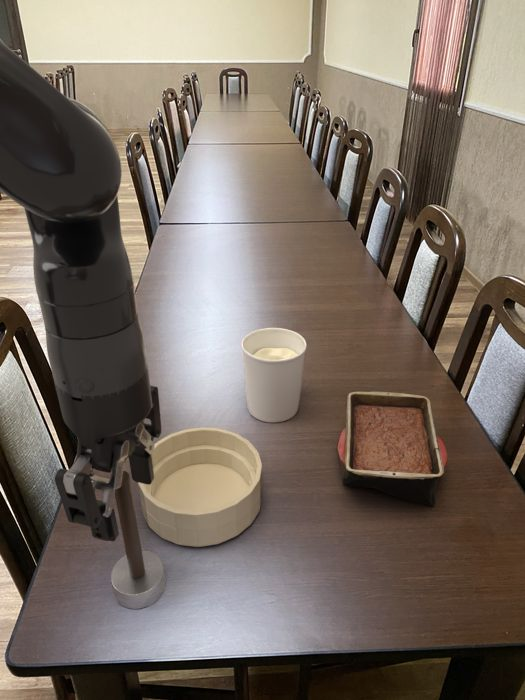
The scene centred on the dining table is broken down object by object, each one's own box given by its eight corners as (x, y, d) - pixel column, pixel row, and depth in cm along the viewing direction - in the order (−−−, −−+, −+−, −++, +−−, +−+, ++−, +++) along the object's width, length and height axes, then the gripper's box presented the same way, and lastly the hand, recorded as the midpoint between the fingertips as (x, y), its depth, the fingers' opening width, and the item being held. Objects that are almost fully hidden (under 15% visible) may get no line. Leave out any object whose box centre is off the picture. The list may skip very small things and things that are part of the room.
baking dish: (325, 510, 71) (335, 463, 64) (342, 413, 84) (352, 366, 78) (436, 536, 69) (458, 490, 62) (435, 432, 82) (453, 386, 76)
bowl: (167, 569, 61) (163, 534, 58) (128, 483, 72) (122, 450, 69) (283, 519, 67) (284, 484, 64) (229, 447, 79) (228, 414, 75)
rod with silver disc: (122, 618, 56) (98, 507, 47) (107, 576, 60) (83, 468, 52) (173, 594, 58) (158, 485, 50) (155, 556, 62) (139, 449, 54)
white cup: (237, 422, 83) (235, 357, 77) (248, 386, 92) (247, 325, 85) (300, 429, 82) (303, 363, 76) (305, 392, 90) (309, 330, 84)
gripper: (105, 320, 51) (127, 452, 60) (3, 409, 39) (49, 558, 48) (178, 331, 49) (190, 465, 58) (94, 428, 37) (125, 578, 46)
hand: (126, 507), depth 53 cm, fingers open, 7 cm apart
